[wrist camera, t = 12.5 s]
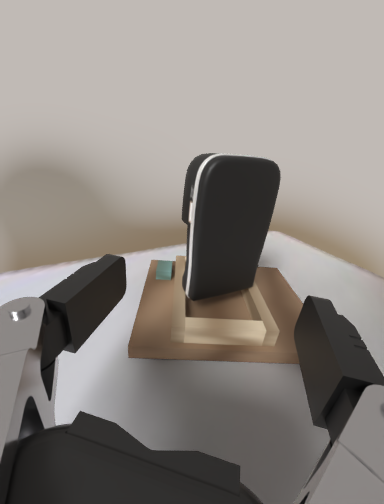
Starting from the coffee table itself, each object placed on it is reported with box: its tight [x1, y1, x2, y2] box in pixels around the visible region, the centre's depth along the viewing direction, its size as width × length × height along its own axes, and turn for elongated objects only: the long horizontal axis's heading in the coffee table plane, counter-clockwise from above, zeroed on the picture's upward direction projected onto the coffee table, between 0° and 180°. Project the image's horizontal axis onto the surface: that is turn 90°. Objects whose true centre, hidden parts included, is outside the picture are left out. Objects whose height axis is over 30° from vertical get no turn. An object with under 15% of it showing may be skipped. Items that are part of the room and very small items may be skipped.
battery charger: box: [182, 153, 280, 301], centre depth 19 cm, size 7×4×11 cm, turn 116°
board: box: [128, 256, 303, 364], centre depth 22 cm, size 16×13×3 cm
